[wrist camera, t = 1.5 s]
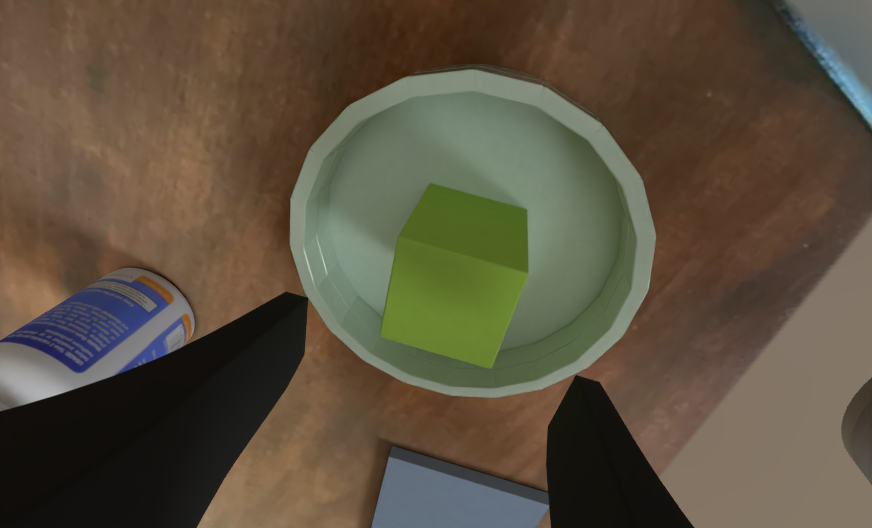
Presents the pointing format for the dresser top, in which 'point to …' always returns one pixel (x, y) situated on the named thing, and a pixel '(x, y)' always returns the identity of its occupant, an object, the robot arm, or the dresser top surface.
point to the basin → (489, 178)
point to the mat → (451, 497)
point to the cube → (457, 275)
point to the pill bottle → (94, 336)
